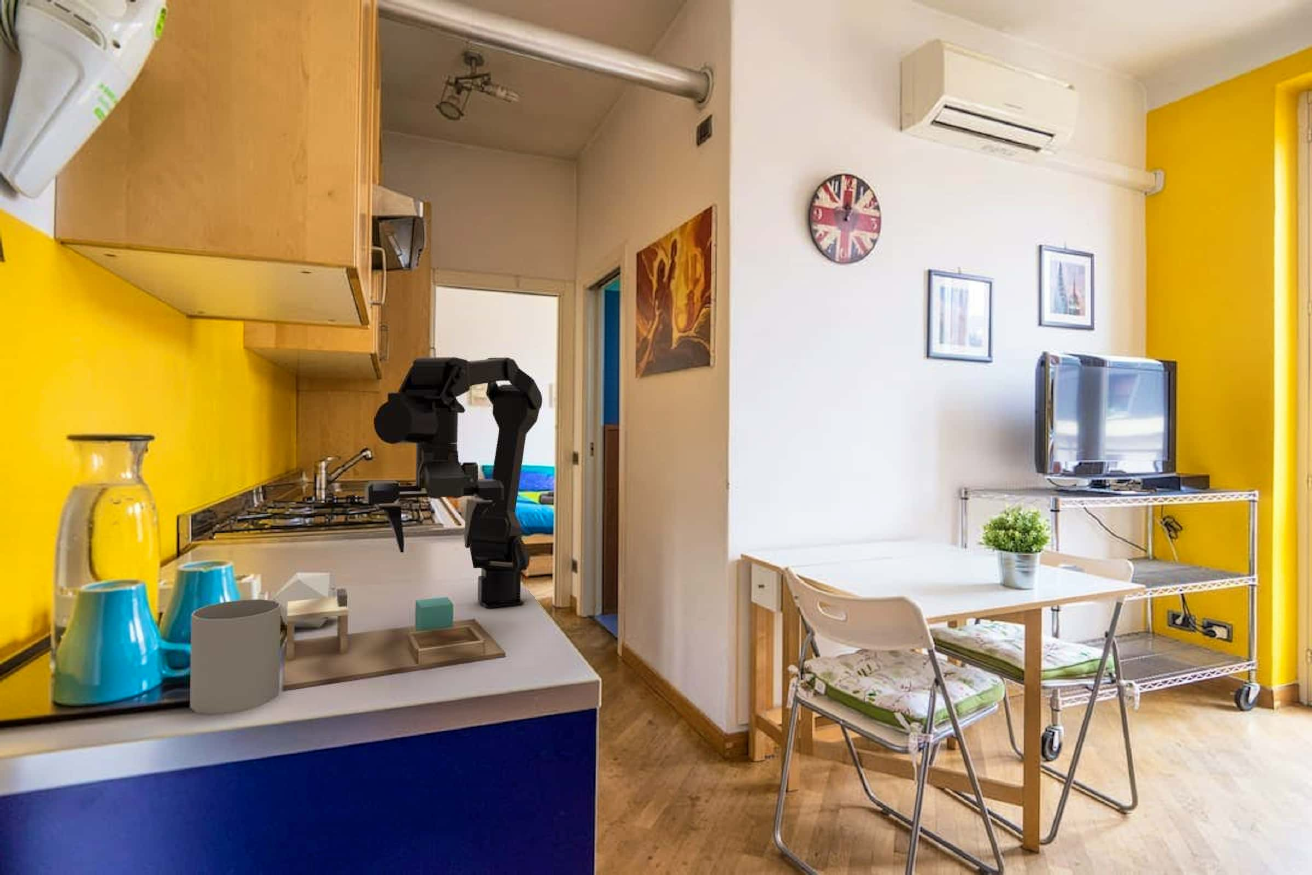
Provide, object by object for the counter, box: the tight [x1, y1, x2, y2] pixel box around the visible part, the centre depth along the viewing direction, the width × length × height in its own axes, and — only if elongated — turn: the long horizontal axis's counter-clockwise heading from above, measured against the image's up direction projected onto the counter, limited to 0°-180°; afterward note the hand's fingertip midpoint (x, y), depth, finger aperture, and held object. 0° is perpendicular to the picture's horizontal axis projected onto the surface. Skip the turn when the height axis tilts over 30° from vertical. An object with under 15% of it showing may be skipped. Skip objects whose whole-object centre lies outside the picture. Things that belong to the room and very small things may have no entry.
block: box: [414, 596, 454, 632], centre depth 95 cm, size 4×4×4 cm
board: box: [282, 618, 506, 692], centre depth 89 cm, size 26×17×2 cm, turn 119°
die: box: [272, 572, 338, 628], centre depth 100 cm, size 8×9×10 cm
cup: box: [189, 598, 281, 715], centre depth 73 cm, size 8×8×10 cm
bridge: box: [286, 588, 349, 660], centre depth 88 cm, size 7×8×7 cm
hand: (435, 549), depth 95 cm, fingers open, 9 cm apart
